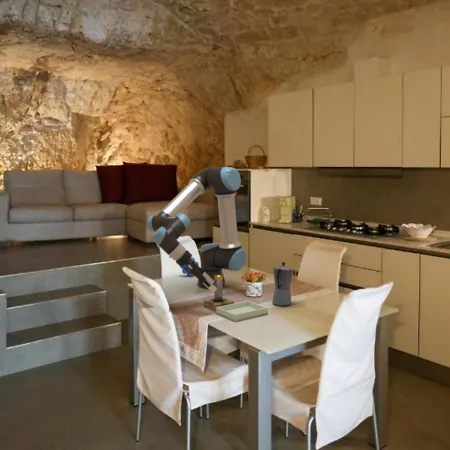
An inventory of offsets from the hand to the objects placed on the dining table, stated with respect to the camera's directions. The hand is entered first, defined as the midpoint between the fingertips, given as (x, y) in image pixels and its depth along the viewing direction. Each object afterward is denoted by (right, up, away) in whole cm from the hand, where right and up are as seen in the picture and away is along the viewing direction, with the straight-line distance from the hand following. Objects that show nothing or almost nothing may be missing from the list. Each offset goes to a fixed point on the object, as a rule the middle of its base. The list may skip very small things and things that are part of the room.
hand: (213, 287), depth 228 cm
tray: (+13, -11, -9) cm, 19 cm away
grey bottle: (+2, -10, +2) cm, 10 cm away
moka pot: (+32, -9, +7) cm, 34 cm away
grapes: (-15, -2, +64) cm, 66 cm away
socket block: (+2, -10, +2) cm, 10 cm away
